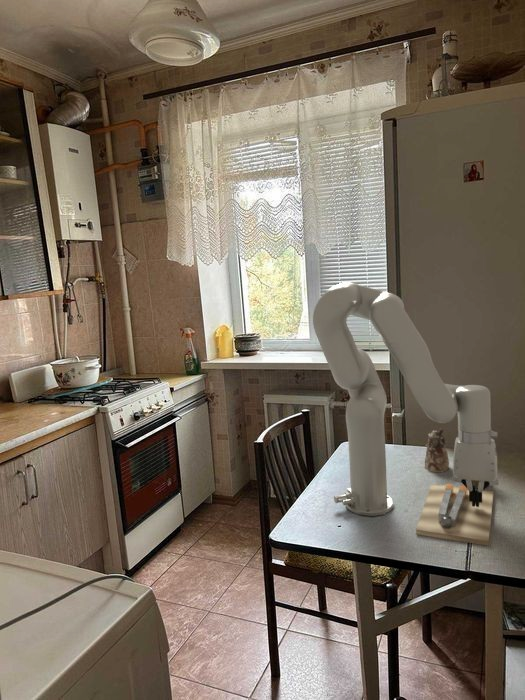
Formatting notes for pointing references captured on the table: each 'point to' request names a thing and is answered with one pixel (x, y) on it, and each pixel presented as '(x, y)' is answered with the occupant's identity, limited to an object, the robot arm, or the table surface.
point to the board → (469, 524)
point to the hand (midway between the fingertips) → (475, 504)
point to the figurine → (436, 453)
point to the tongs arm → (455, 509)
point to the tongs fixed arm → (446, 501)
